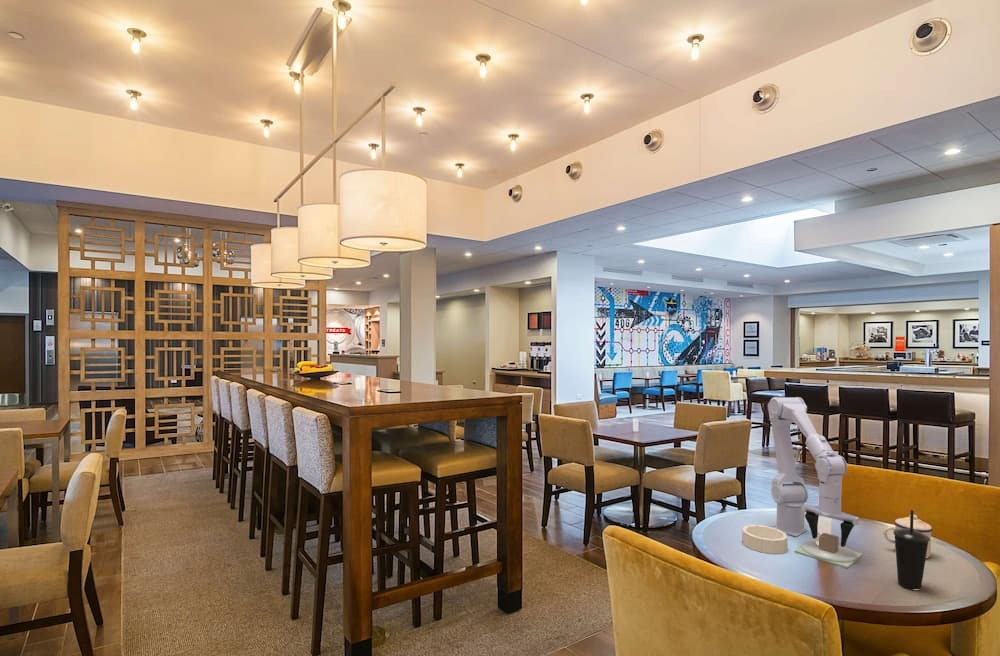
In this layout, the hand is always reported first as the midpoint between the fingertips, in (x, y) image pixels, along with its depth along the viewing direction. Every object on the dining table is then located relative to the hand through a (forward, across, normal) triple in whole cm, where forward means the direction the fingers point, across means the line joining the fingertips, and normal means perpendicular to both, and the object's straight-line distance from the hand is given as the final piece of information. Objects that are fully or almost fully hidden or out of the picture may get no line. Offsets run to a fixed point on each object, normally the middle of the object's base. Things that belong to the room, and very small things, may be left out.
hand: (828, 541), depth 163 cm
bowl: (+4, -15, -9) cm, 18 cm away
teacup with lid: (+4, +15, +20) cm, 25 cm away
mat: (+4, 0, 0) cm, 4 cm away
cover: (+3, 0, 0) cm, 3 cm away
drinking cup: (+4, +21, -6) cm, 22 cm away
